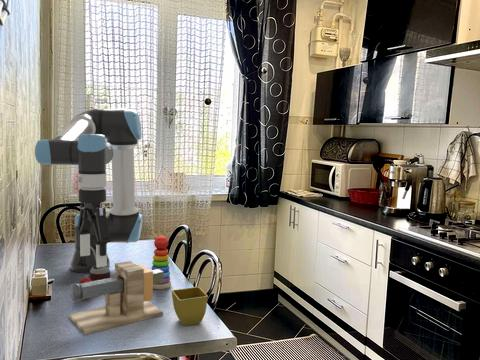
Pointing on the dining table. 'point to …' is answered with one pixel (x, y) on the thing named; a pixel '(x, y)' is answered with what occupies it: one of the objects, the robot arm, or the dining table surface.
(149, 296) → the collar
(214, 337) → the dining table surface
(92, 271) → the mate gourd
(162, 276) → the shaft
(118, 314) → the stand
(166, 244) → the stacking toy
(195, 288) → the flower pot
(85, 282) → the onion
